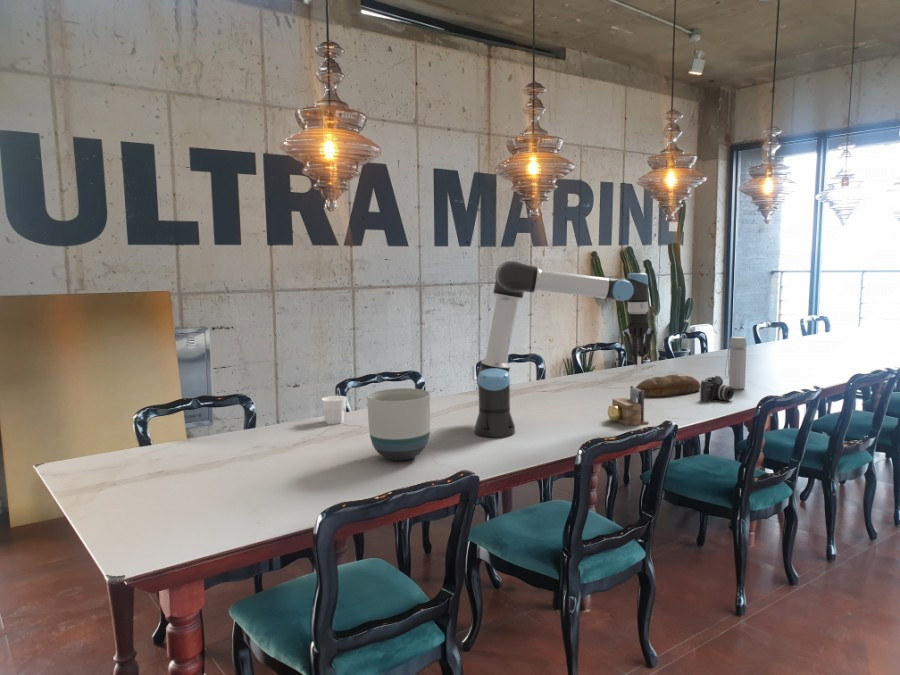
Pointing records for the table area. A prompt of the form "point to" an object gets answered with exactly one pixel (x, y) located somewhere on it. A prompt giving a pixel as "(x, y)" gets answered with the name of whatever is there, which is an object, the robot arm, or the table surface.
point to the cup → (334, 409)
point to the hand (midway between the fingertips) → (637, 372)
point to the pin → (615, 413)
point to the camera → (715, 389)
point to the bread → (668, 386)
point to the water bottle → (737, 362)
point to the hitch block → (631, 410)
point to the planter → (399, 422)
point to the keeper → (633, 395)
